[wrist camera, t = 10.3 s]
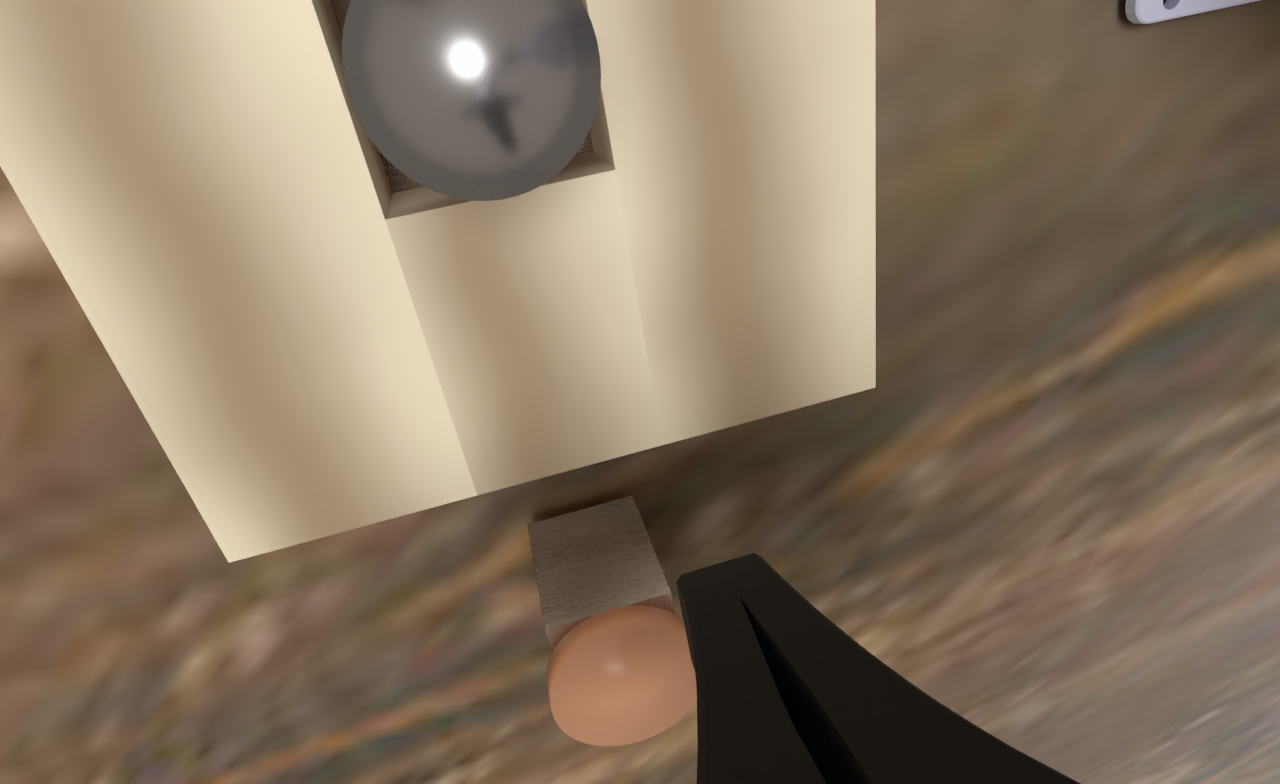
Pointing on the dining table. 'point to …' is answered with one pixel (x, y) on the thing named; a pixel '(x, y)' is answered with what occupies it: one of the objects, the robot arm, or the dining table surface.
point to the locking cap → (622, 676)
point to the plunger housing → (595, 565)
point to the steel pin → (473, 89)
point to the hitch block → (444, 250)
